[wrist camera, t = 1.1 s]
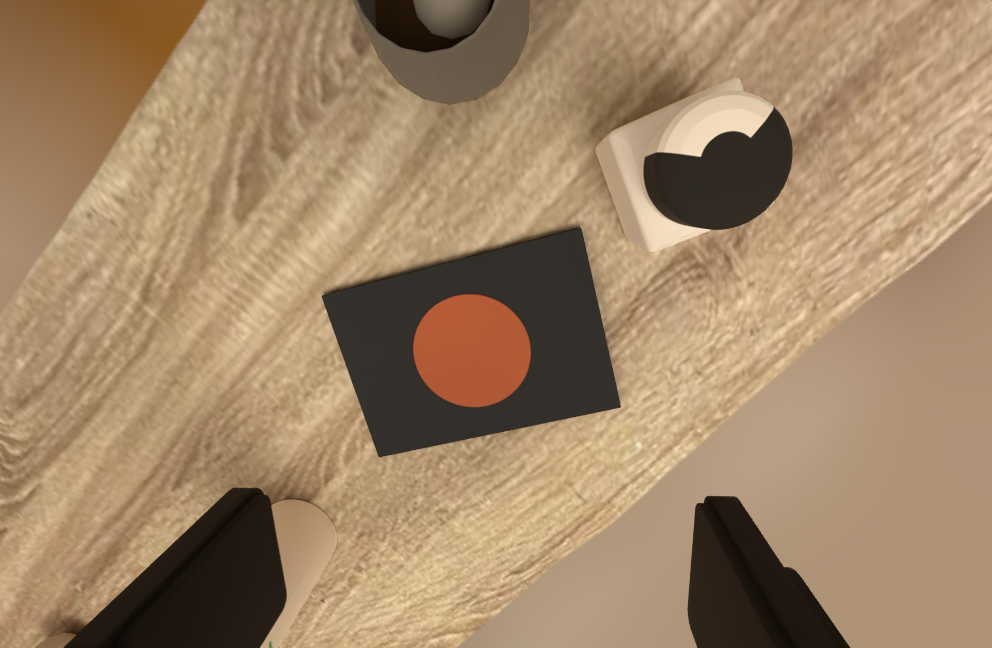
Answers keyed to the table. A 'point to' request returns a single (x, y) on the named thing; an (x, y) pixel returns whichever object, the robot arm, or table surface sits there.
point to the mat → (476, 345)
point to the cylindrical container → (299, 557)
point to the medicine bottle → (696, 165)
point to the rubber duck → (57, 641)
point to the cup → (447, 43)
